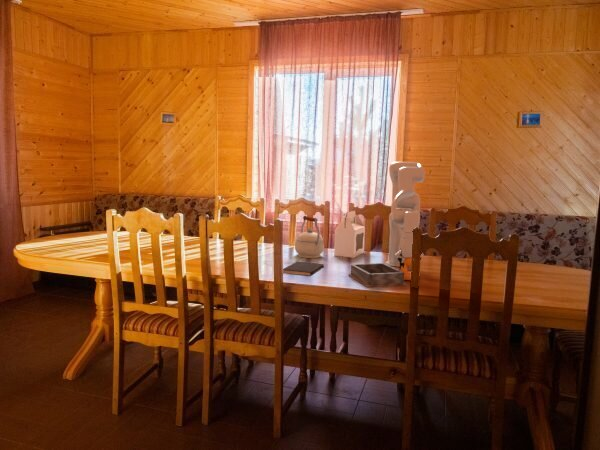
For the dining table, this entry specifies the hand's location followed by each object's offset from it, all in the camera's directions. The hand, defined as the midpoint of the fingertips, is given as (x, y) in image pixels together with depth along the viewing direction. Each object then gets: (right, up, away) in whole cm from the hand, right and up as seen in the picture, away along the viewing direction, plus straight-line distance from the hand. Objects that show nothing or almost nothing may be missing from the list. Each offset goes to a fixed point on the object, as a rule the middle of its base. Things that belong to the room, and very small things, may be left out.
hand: (408, 269), depth 239 cm
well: (-17, -5, -4) cm, 19 cm away
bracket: (0, -5, +1) cm, 5 cm away
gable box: (-23, +4, +65) cm, 70 cm away
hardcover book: (-54, -2, +16) cm, 56 cm away
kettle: (-49, +3, +54) cm, 73 cm away
